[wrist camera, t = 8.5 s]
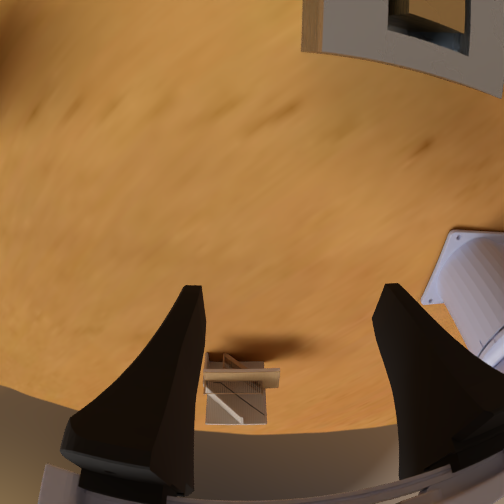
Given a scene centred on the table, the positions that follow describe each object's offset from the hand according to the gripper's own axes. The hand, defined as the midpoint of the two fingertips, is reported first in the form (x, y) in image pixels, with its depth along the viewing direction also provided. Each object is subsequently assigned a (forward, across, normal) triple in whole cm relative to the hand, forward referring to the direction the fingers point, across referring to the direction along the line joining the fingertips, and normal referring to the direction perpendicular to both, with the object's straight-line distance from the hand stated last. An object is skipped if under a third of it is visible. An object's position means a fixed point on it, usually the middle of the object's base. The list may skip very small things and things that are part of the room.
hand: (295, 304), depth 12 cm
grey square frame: (+9, -6, -14) cm, 18 cm away
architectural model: (+10, +3, +18) cm, 20 cm away
